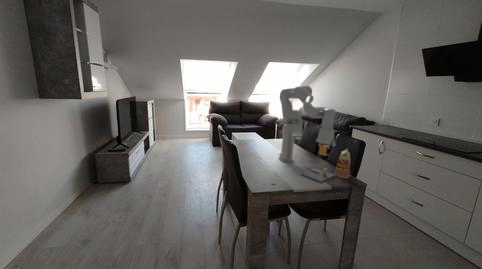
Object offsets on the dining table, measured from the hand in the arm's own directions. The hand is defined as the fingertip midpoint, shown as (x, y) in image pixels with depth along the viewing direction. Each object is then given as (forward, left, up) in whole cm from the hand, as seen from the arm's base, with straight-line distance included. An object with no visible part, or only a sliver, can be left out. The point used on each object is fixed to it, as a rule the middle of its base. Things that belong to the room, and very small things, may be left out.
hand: (324, 152), depth 158 cm
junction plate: (-2, -1, -18) cm, 18 cm away
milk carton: (+8, +15, -18) cm, 25 cm away
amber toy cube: (0, 0, -1) cm, 1 cm away
